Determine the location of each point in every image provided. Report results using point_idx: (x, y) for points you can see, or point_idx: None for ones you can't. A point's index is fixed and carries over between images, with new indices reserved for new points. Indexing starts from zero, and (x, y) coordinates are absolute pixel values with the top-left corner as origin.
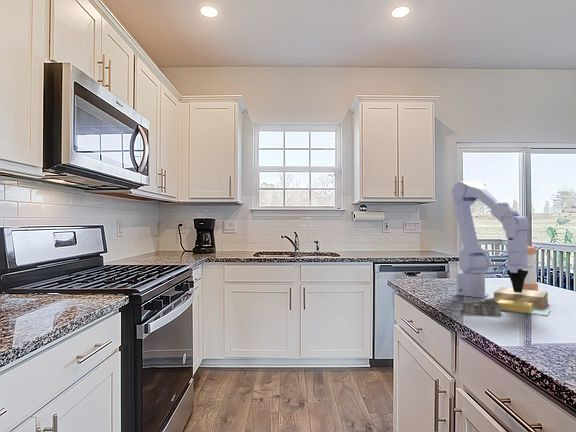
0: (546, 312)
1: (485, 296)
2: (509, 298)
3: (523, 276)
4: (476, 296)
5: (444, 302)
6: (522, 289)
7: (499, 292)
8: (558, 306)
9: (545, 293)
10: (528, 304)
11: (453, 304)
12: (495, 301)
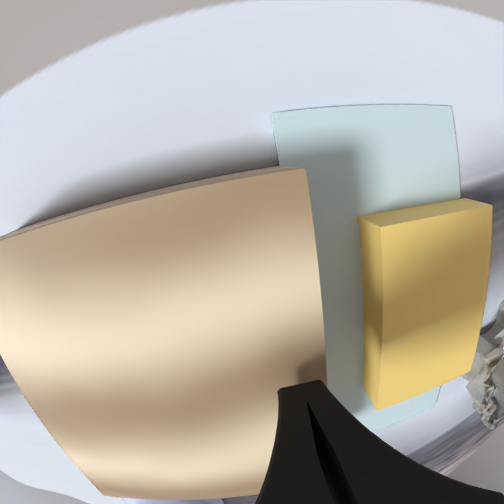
0: (387, 118)
1: None
2: None
3: (469, 490)
4: (221, 502)
5: None
6: (293, 401)
7: None
8: (48, 141)
9: (28, 236)
10: (445, 232)
11: (423, 460)
12: (492, 367)
